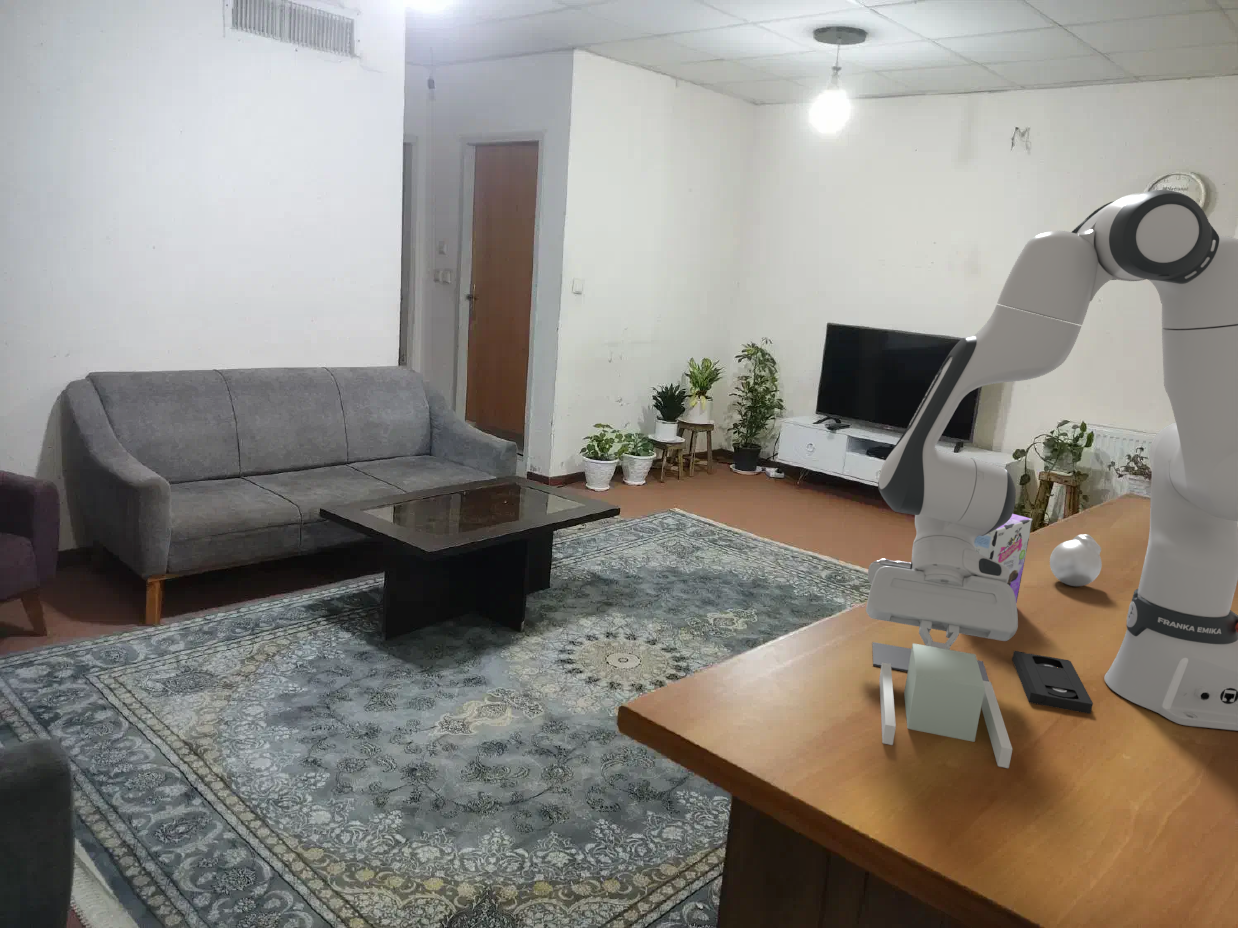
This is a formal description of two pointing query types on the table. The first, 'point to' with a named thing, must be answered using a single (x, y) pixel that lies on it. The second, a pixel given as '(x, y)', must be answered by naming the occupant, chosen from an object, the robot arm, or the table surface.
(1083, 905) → the table surface
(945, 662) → the sage block
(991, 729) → the channel
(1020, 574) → the candy box
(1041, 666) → the vhs tape
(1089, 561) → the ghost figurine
